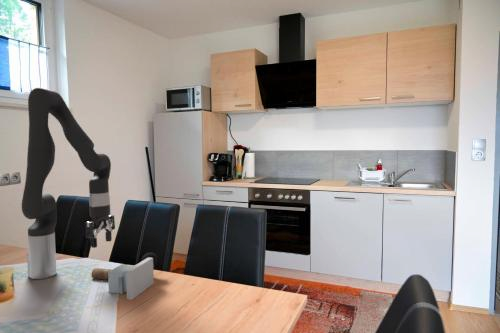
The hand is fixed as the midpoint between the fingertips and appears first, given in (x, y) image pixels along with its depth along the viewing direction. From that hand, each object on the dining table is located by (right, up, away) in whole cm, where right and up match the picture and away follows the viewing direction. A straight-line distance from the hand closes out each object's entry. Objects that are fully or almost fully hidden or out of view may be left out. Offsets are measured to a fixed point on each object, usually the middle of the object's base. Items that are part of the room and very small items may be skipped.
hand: (101, 244), depth 134 cm
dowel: (+3, -13, 0) cm, 14 cm away
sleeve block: (+12, -14, -11) cm, 21 cm away
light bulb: (+19, -14, 0) cm, 24 cm away
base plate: (+19, -14, -12) cm, 26 cm away
